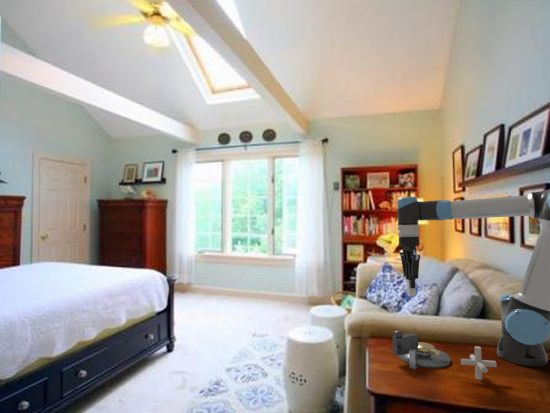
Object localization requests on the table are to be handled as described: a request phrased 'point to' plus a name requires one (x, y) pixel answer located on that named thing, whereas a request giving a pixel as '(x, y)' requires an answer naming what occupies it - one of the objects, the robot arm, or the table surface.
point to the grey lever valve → (410, 344)
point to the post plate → (425, 359)
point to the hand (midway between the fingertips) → (411, 296)
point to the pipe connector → (478, 363)
